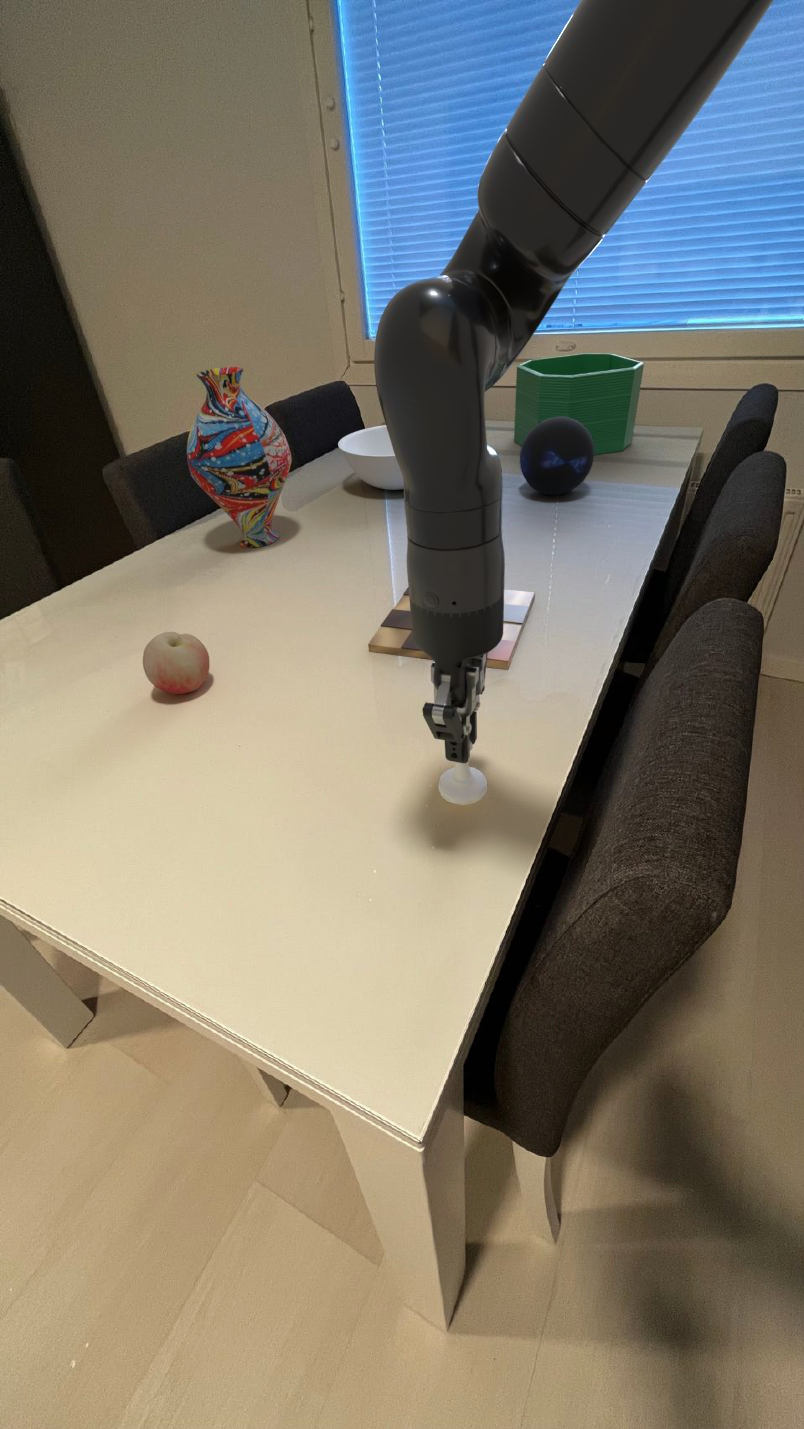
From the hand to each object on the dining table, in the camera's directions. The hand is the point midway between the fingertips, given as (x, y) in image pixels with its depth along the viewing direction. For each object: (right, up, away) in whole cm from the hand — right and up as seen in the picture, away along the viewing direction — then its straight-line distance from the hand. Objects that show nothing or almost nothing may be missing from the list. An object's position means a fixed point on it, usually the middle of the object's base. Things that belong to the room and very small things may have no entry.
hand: (461, 749), depth 58 cm
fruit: (-35, +7, +24) cm, 43 cm away
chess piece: (0, -4, +3) cm, 5 cm away
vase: (-35, +39, +64) cm, 83 cm away
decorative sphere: (+27, +51, +72) cm, 92 cm away
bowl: (-6, +58, +85) cm, 103 cm away
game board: (+2, +17, +32) cm, 36 cm away
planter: (+39, +75, +100) cm, 131 cm away
